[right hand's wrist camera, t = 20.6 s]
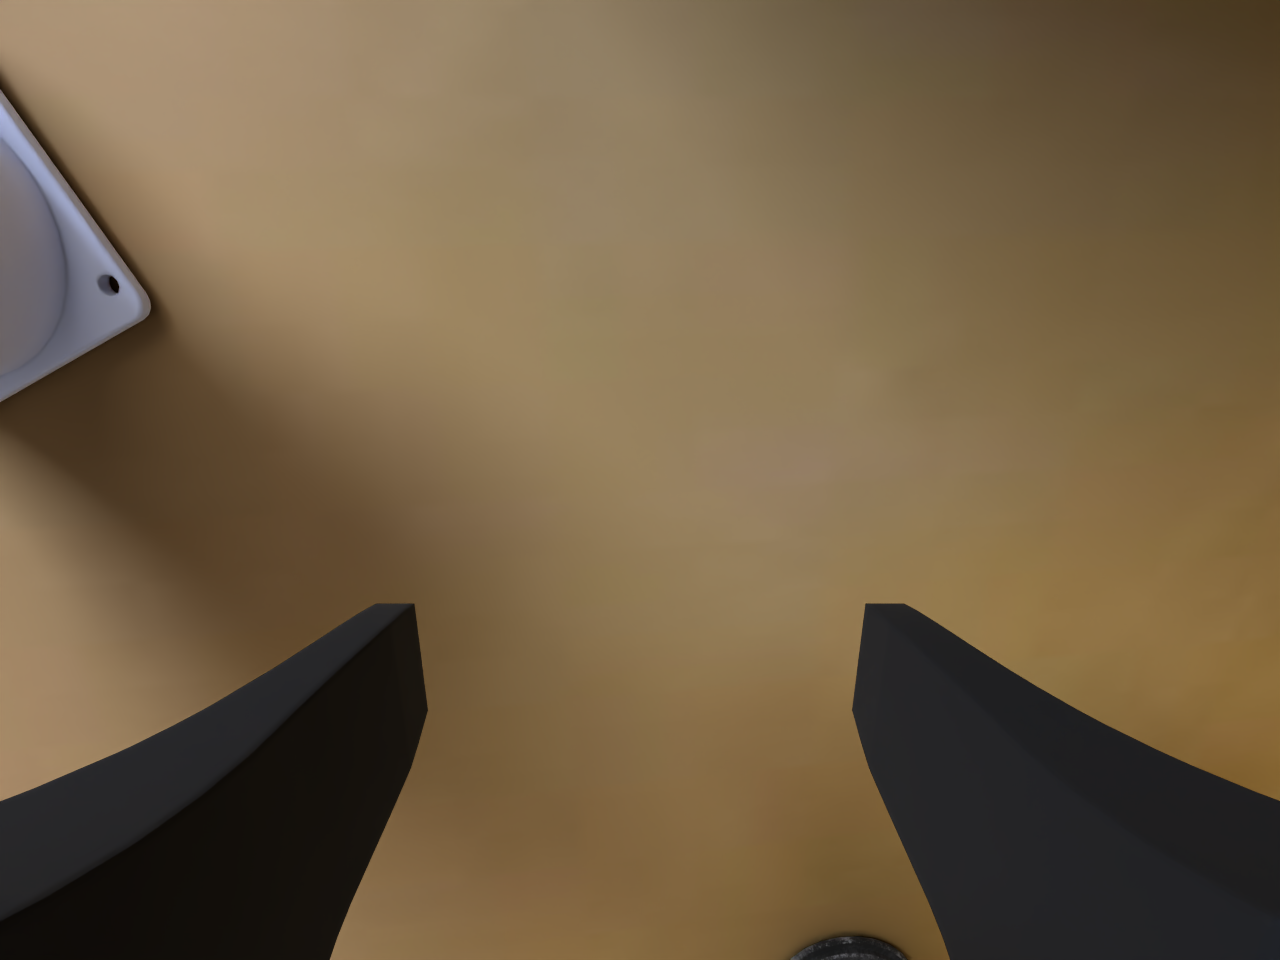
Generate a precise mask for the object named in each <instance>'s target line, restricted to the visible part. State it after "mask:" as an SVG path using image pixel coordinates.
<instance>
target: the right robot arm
mask: <svg viewBox="0 0 1280 960" xmlns="http://www.w3.org/2000/svg"><path fill="white" fill-rule="evenodd" d="M111 276H113V277H114V278H115V279H116V280H117V282H118V284H119V292H118V293H116V292H114V291H113V290H112V289H111V287H110V284H109V278H110V277H111ZM150 310H151V304H150V299H149V297H148V295H147V293H146V292H145V291H144V289H143V288H142V286H141V285H140V284H139V282H138V281H137V279H136V278H135V277H134V275H133V274H132V272H131V271H130V270H129V268H128V267H127V265H126V264H125V263H124V261H123V260H122V258H121V257H120V256H119V254H118V253H117V251H116V250H115V249H114V247H113V246H112V245H111V243H110V242H109V240H108V239H107V238H106V236H105V235H104V233H103V232H102V231H101V229H100V228H99V226H98V225H97V224H96V222H95V221H94V219H93V218H92V217H91V215H90V214H89V212H88V211H87V210H86V208H85V207H84V205H83V204H82V203H81V201H80V200H79V198H78V197H77V196H76V194H75V193H74V192H73V190H72V189H71V187H70V186H69V185H68V183H67V182H66V180H65V179H64V178H63V176H62V175H61V173H60V172H59V171H58V169H57V168H56V166H55V165H54V164H53V162H52V161H51V159H50V158H49V157H48V155H47V154H46V152H45V151H44V150H43V148H42V147H41V145H40V144H39V143H38V141H37V140H36V138H35V137H34V136H33V134H32V133H31V132H30V130H29V129H28V127H27V126H26V125H25V123H24V122H23V120H22V119H21V118H20V116H19V115H18V113H17V112H16V111H15V109H14V108H13V106H12V105H11V104H10V102H9V101H8V99H7V98H6V97H5V95H4V94H3V92H2V91H1V90H0V402H1V401H3V400H5V399H7V398H8V397H10V396H12V395H14V394H15V393H17V392H19V391H20V390H22V389H24V388H26V387H27V386H29V385H31V384H33V383H34V382H36V381H38V380H40V379H41V378H43V377H45V376H47V375H48V374H50V373H52V372H54V371H55V370H57V369H59V368H61V367H62V366H64V365H66V364H67V363H69V362H71V361H73V360H74V359H76V358H78V357H80V356H81V355H83V354H85V353H87V352H88V351H90V350H92V349H94V348H95V347H97V346H99V345H101V344H102V343H104V342H106V341H108V340H109V339H111V338H113V337H114V336H116V335H118V334H120V333H121V332H123V331H125V330H127V329H128V328H130V327H132V326H134V325H135V324H137V323H139V322H141V321H142V320H144V319H145V318H146V317H147V316H148V315H149V313H150ZM427 711H428V708H427V700H426V692H425V684H424V676H423V668H422V660H421V652H420V644H419V636H418V629H417V621H416V613H415V605H414V604H375V605H373V606H371V607H369V608H367V609H365V610H364V611H362V612H360V613H359V614H357V615H355V616H354V617H352V618H351V619H349V620H347V621H346V622H344V623H343V624H341V625H340V626H338V627H337V628H335V629H334V630H332V631H330V632H329V633H327V634H326V635H324V636H323V637H321V638H320V639H318V640H317V641H315V642H314V643H312V644H311V645H309V646H307V647H306V648H304V649H303V650H301V651H300V652H298V653H297V654H295V655H294V656H292V657H290V658H289V659H287V660H286V661H284V662H283V663H281V664H280V665H278V666H276V667H275V668H273V669H272V670H270V671H268V672H267V673H265V674H263V675H261V676H260V677H258V678H256V679H255V680H253V681H251V682H250V683H248V684H246V685H245V686H243V687H241V688H240V689H238V690H236V691H235V692H233V693H231V694H230V695H228V696H226V697H224V698H223V699H221V700H219V701H218V702H216V703H214V704H213V705H211V706H209V707H207V708H205V709H204V710H202V711H200V712H198V713H196V714H194V715H193V716H191V717H189V718H187V719H185V720H183V721H181V722H179V723H177V724H176V725H174V726H172V727H169V728H167V729H165V730H163V731H161V732H159V733H157V734H155V735H153V736H151V737H149V738H147V739H145V740H143V741H141V742H139V743H137V744H135V745H133V746H131V747H129V748H127V749H124V750H122V751H120V752H118V753H116V754H113V755H111V756H109V757H106V758H104V759H102V760H99V761H97V762H95V763H92V764H90V765H88V766H85V767H83V768H81V769H78V770H76V771H74V772H71V773H69V774H67V775H64V776H62V777H60V778H57V779H55V780H53V781H50V782H48V783H46V784H43V785H41V786H39V787H36V788H34V789H31V790H29V791H26V792H24V793H21V794H19V795H16V796H13V797H11V798H8V799H5V800H3V801H0V960H330V957H331V954H332V951H333V948H334V945H335V942H336V940H337V937H338V934H339V932H340V929H341V927H342V924H343V922H344V919H345V917H346V914H347V912H348V909H349V907H350V904H351V902H352V900H353V897H354V895H355V893H356V891H357V888H358V886H359V884H360V882H361V880H362V877H363V875H364V873H365V871H366V868H367V866H368V864H369V862H370V859H371V857H372V855H373V853H374V851H375V848H376V846H377V844H378V842H379V839H380V837H381V835H382V833H383V830H384V828H385V826H386V824H387V822H388V819H389V817H390V815H391V813H392V810H393V808H394V806H395V803H396V801H397V799H398V797H399V794H400V792H401V790H402V788H403V785H404V783H405V781H406V778H407V776H408V774H409V771H410V769H411V766H412V763H413V760H414V756H415V753H416V750H417V747H418V743H419V740H420V736H421V733H422V729H423V726H424V722H425V718H426V715H427ZM852 711H853V715H854V718H855V722H856V726H857V729H858V733H859V736H860V740H861V743H862V747H863V750H864V753H865V756H866V760H867V763H868V766H869V769H870V771H871V774H872V776H873V778H874V781H875V783H876V785H877V788H878V790H879V792H880V794H881V797H882V799H883V801H884V803H885V806H886V808H887V810H888V813H889V815H890V817H891V819H892V822H893V824H894V826H895V828H896V830H897V833H898V835H899V837H900V839H901V842H902V844H903V846H904V848H905V851H906V853H907V855H908V857H909V859H910V862H911V864H912V866H913V868H914V871H915V873H916V875H917V877H918V880H919V882H920V884H921V886H922V888H923V891H924V893H925V895H926V897H927V900H928V902H929V904H930V907H931V909H932V912H933V914H934V917H935V919H936V922H937V924H938V927H939V929H940V932H941V934H942V937H943V940H944V942H945V945H946V948H947V951H948V954H949V957H950V960H1280V801H1278V800H1276V799H1273V798H1270V797H1268V796H1265V795H1262V794H1260V793H1257V792H1255V791H1252V790H1250V789H1247V788H1245V787H1242V786H1240V785H1237V784H1235V783H1233V782H1230V781H1228V780H1225V779H1223V778H1221V777H1218V776H1216V775H1213V774H1211V773H1209V772H1206V771H1204V770H1201V769H1199V768H1197V767H1194V766H1192V765H1189V764H1187V763H1185V762H1183V761H1180V760H1178V759H1176V758H1174V757H1172V756H1169V755H1167V754H1165V753H1163V752H1160V751H1158V750H1156V749H1154V748H1152V747H1150V746H1148V745H1146V744H1144V743H1142V742H1140V741H1138V740H1136V739H1134V738H1132V737H1130V736H1128V735H1126V734H1123V733H1121V732H1119V731H1117V730H1115V729H1113V728H1111V727H1109V726H1107V725H1105V724H1103V723H1101V722H1099V721H1098V720H1096V719H1094V718H1092V717H1090V716H1088V715H1086V714H1084V713H1082V712H1081V711H1079V710H1077V709H1075V708H1073V707H1072V706H1070V705H1068V704H1066V703H1065V702H1063V701H1061V700H1059V699H1058V698H1056V697H1054V696H1052V695H1051V694H1049V693H1047V692H1045V691H1044V690H1042V689H1040V688H1038V687H1037V686H1035V685H1033V684H1032V683H1030V682H1028V681H1027V680H1025V679H1024V678H1022V677H1020V676H1019V675H1017V674H1015V673H1014V672H1012V671H1011V670H1009V669H1007V668H1006V667H1004V666H1003V665H1001V664H999V663H998V662H996V661H995V660H993V659H992V658H990V657H988V656H987V655H985V654H984V653H982V652H981V651H979V650H978V649H976V648H974V647H973V646H971V645H970V644H968V643H967V642H965V641H964V640H962V639H961V638H959V637H958V636H956V635H955V634H953V633H952V632H950V631H948V630H947V629H945V628H944V627H942V626H941V625H939V624H938V623H936V622H935V621H933V620H931V619H930V618H928V617H927V616H925V615H923V614H922V613H920V612H918V611H917V610H915V609H913V608H911V607H910V606H908V605H906V604H866V605H865V613H864V621H863V628H862V636H861V644H860V652H859V660H858V668H857V676H856V684H855V692H854V700H853V708H852Z"/></svg>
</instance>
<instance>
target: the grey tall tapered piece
mask: <svg viewBox="0 0 1280 960" xmlns="http://www.w3.org/2000/svg"><path fill="white" fill-rule="evenodd" d="M790 960H907V959H906V957H905V956H904V955H903V953H901V952H900V951H898V950H897V949H896V948H894V947H893V946H891V945H890V944H887V943H884V942H882V941H879V940H876V939H872V938H865V937H858V936H854V937H837V938H833V939H829V940H824V941H820V942H818V943H816V944H814V945H811V946H809V947H807V948H805V949H803V950H802V951H801V952H799V953H798V954H796V955H795V956H794V957H792V958H791V959H790Z"/></svg>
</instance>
